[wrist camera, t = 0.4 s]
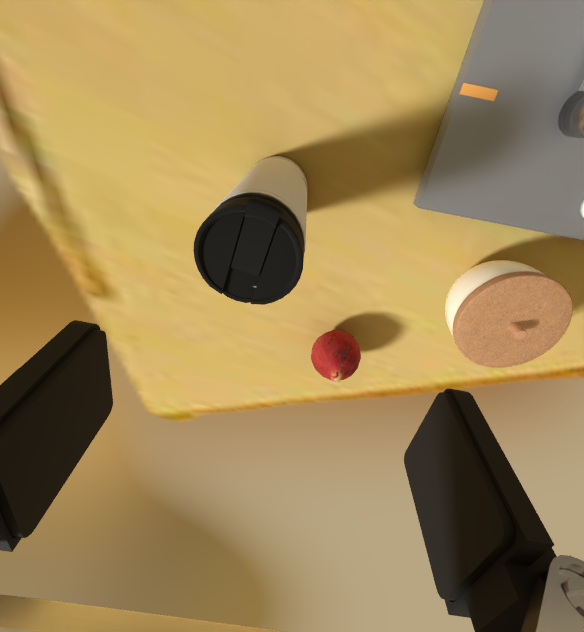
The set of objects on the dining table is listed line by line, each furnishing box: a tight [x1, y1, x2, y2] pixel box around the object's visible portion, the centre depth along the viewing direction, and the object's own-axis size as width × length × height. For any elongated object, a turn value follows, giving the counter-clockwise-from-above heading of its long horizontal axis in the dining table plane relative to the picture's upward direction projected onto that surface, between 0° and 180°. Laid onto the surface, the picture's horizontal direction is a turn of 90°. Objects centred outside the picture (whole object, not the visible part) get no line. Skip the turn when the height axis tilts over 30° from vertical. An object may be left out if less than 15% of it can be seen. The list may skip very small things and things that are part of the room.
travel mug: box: [194, 156, 308, 304], centre depth 27 cm, size 6×7×20 cm
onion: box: [311, 330, 361, 382], centre depth 42 cm, size 6×6×8 cm
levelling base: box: [413, 0, 584, 240], centre depth 30 cm, size 20×20×3 cm
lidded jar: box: [445, 260, 573, 368], centre depth 37 cm, size 11×11×9 cm
